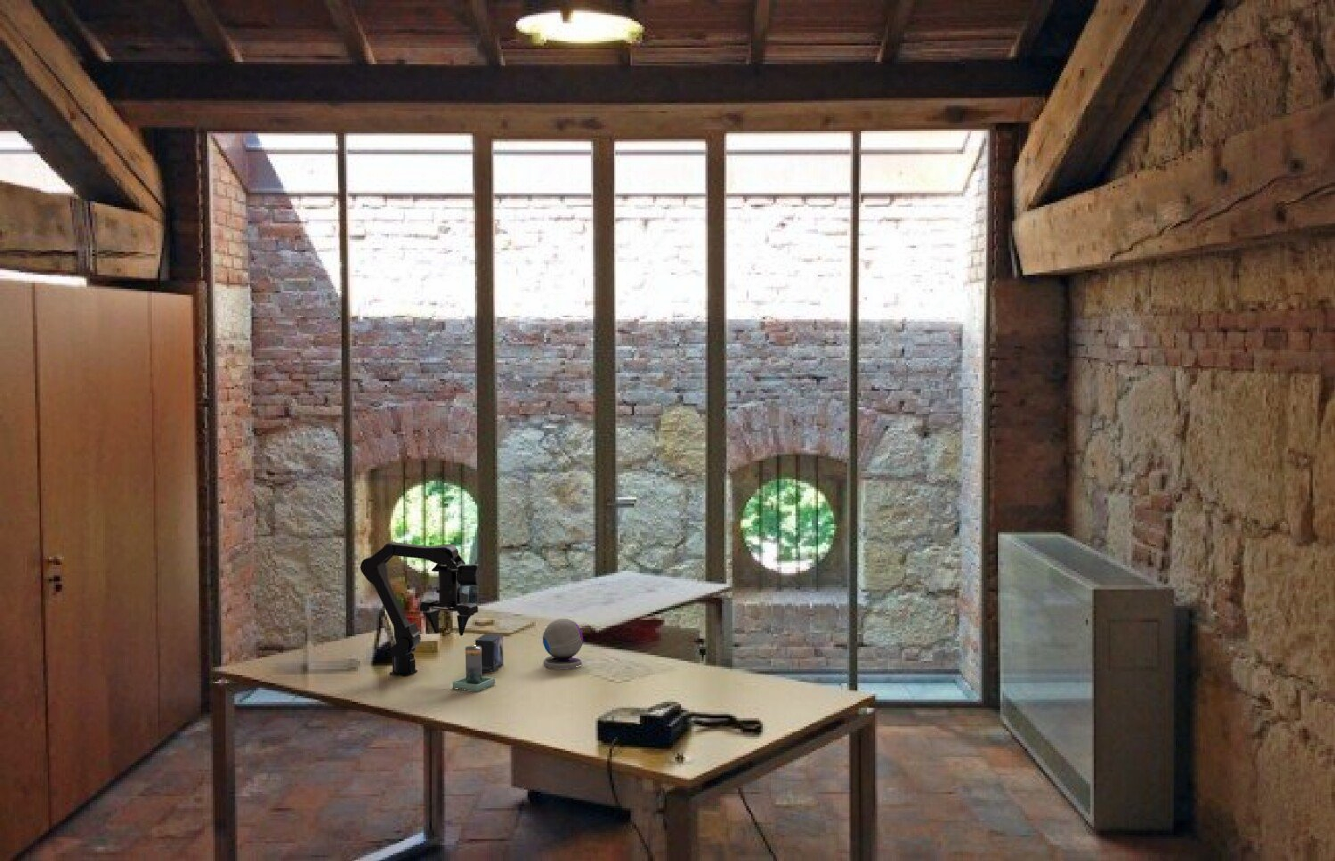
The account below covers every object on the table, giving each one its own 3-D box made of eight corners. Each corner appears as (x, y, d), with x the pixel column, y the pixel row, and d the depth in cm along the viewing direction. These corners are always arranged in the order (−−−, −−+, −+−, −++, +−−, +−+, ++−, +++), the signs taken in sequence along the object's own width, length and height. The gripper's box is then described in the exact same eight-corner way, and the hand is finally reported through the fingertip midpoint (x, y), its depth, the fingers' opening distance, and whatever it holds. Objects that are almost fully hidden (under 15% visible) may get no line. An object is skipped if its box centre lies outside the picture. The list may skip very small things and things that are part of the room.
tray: (452, 688, 439) (452, 682, 439) (469, 681, 447) (469, 675, 447) (478, 691, 435) (478, 685, 435) (495, 684, 443) (494, 678, 443)
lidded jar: (464, 686, 439) (464, 647, 438) (467, 682, 444) (466, 643, 443) (480, 686, 439) (480, 647, 438) (483, 682, 444) (482, 643, 443)
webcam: (588, 667, 464) (587, 621, 463) (550, 671, 459) (549, 624, 458) (575, 658, 476) (574, 613, 475) (538, 662, 471) (537, 617, 470)
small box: (494, 673, 458) (493, 640, 457) (474, 672, 459) (473, 640, 458) (504, 665, 468) (503, 633, 467) (485, 664, 469) (484, 632, 469)
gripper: (487, 583, 457) (488, 631, 458) (438, 579, 465) (439, 626, 466) (467, 589, 447) (468, 639, 448) (417, 585, 455) (419, 633, 456)
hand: (449, 634), depth 455 cm, fingers open, 9 cm apart
